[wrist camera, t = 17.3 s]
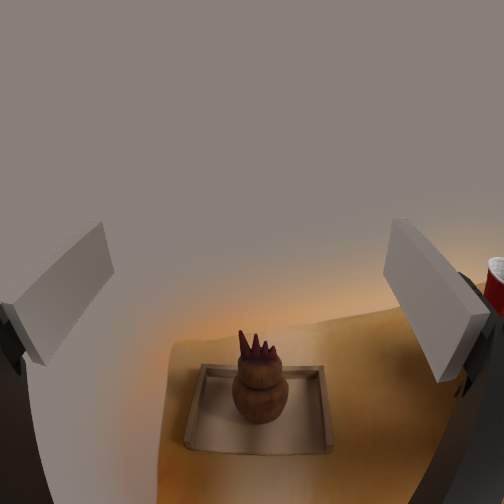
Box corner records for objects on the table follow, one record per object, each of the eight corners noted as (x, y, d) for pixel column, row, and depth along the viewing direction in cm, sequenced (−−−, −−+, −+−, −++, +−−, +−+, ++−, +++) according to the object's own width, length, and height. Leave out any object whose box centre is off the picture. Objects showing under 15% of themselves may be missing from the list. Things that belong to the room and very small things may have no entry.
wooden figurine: (227, 419, 35) (214, 340, 28) (246, 388, 39) (240, 306, 32) (276, 435, 32) (281, 360, 25) (292, 402, 37) (300, 321, 30)
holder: (321, 376, 41) (323, 365, 40) (329, 453, 30) (333, 445, 28) (203, 374, 42) (201, 363, 41) (187, 449, 31) (183, 440, 30)
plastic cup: (483, 338, 43) (506, 286, 37) (462, 305, 52) (479, 256, 47) (516, 332, 42) (539, 283, 36) (495, 302, 51) (512, 257, 46)
